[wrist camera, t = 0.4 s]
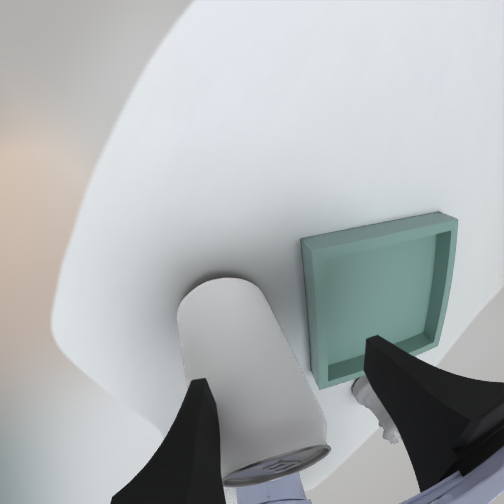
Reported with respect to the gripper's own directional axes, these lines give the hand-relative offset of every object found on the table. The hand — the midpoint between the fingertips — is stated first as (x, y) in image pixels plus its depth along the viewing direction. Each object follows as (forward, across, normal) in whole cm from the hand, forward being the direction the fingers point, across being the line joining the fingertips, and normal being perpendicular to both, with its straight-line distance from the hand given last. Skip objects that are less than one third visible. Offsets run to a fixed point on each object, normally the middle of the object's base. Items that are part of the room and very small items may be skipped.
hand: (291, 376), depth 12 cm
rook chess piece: (+10, -10, +15) cm, 21 cm away
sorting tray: (+10, -10, +4) cm, 15 cm away
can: (+9, +3, +1) cm, 10 cm away
